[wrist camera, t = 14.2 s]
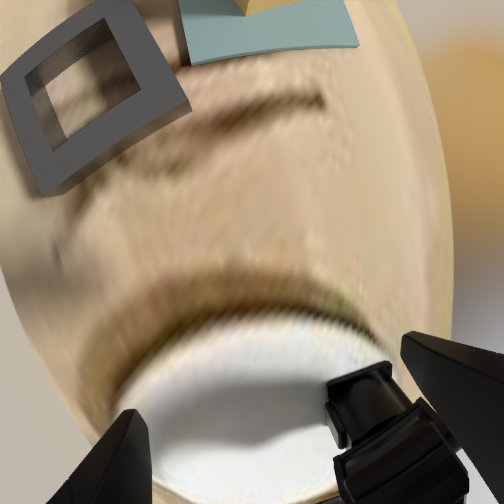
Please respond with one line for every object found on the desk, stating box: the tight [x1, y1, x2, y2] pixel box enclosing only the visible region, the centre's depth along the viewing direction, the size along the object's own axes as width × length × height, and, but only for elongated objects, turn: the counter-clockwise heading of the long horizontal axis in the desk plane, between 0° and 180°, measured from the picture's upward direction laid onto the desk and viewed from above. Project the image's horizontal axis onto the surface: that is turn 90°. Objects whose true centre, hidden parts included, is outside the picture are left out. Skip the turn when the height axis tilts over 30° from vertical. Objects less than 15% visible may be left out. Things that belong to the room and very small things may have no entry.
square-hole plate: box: [0, 0, 192, 198], centre depth 15 cm, size 10×10×3 cm
